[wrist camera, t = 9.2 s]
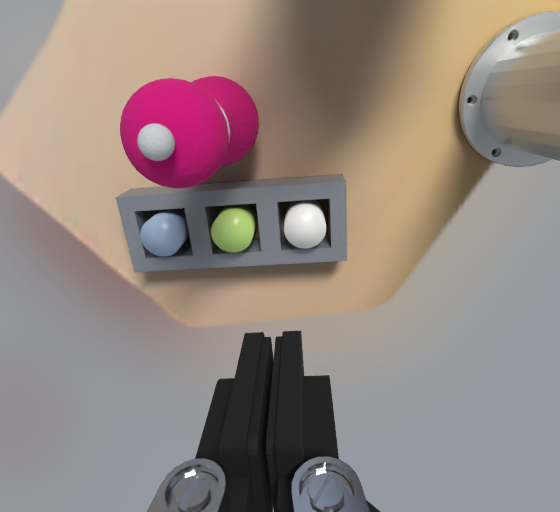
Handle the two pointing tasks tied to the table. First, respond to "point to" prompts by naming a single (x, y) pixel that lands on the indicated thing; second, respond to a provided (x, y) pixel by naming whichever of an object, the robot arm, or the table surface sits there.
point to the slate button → (165, 232)
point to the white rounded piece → (304, 223)
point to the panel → (261, 192)
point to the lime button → (234, 228)
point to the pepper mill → (187, 129)
